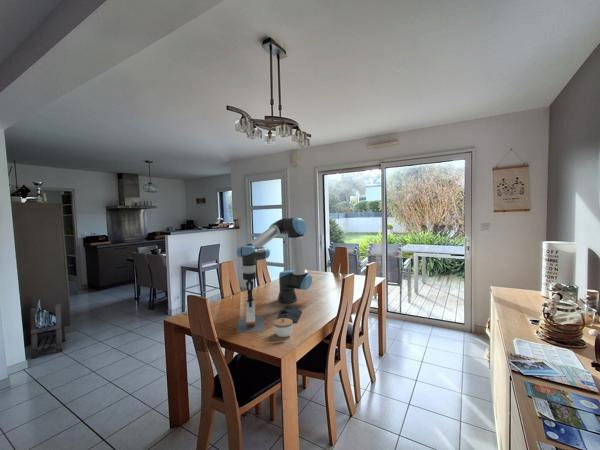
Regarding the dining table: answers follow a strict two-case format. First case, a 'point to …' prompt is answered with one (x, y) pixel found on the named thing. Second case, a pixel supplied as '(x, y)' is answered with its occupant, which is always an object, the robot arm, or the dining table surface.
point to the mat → (244, 328)
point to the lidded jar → (283, 327)
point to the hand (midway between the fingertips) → (250, 311)
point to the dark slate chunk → (290, 313)
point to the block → (250, 316)
